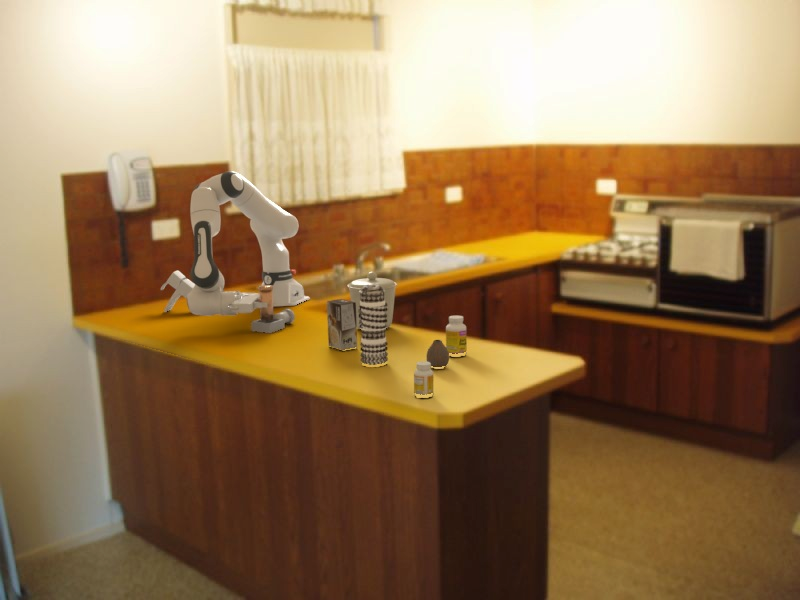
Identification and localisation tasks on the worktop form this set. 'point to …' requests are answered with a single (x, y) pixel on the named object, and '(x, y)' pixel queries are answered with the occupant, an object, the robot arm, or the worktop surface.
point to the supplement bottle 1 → (423, 378)
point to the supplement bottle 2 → (456, 335)
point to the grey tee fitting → (274, 322)
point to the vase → (437, 354)
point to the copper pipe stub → (266, 296)
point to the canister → (372, 280)
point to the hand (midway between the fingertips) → (268, 302)
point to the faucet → (178, 287)
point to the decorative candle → (373, 325)
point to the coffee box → (342, 324)
